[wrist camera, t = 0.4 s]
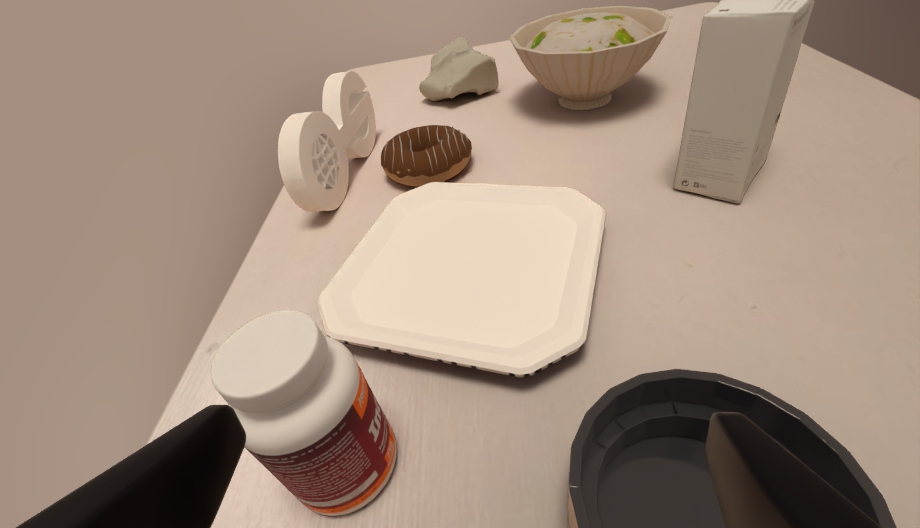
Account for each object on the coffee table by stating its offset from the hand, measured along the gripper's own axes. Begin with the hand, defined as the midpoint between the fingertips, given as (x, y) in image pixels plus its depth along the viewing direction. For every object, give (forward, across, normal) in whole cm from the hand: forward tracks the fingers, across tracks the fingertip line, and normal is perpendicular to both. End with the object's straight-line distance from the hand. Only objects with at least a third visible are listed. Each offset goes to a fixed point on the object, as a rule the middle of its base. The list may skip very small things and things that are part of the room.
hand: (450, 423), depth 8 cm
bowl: (+59, -9, +3) cm, 59 cm away
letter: (+44, +21, +7) cm, 49 cm away
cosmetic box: (+38, -19, +8) cm, 43 cm away
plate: (+26, +4, +11) cm, 29 cm away
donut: (+44, +11, +7) cm, 46 cm away
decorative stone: (+65, +9, +2) cm, 66 cm away
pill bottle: (+10, +10, +15) cm, 21 cm away
